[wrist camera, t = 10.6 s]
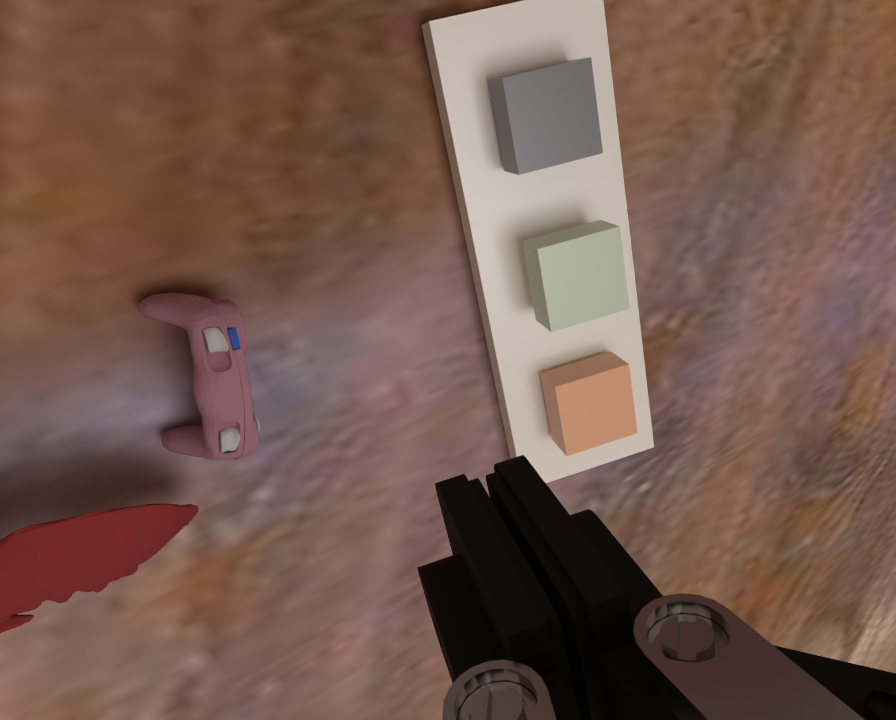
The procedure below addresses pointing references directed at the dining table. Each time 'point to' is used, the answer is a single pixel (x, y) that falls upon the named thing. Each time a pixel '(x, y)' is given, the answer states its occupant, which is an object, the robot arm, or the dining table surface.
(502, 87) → the charcoal key
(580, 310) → the sage key
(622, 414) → the terracotta key
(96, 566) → the decorative bird sculpture
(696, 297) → the dining table surface
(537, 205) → the keypad base
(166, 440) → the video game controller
